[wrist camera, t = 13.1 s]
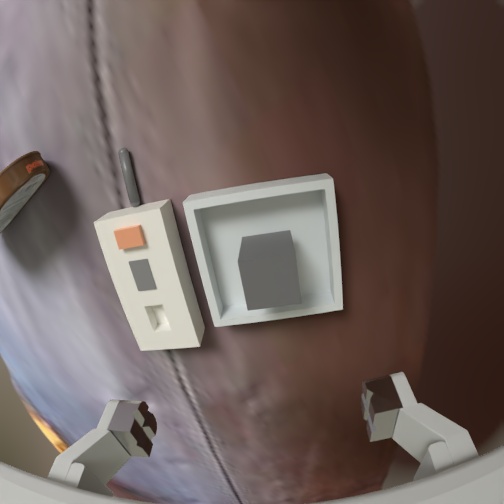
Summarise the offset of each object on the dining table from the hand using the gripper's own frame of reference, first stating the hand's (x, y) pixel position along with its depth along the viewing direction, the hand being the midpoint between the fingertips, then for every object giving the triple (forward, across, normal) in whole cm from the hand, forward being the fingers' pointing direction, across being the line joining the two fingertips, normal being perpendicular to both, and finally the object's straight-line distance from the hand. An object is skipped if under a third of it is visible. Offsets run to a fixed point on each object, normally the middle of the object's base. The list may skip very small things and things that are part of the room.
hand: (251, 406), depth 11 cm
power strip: (+22, +11, +1) cm, 25 cm away
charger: (+22, -1, +3) cm, 22 cm away
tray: (+22, 0, +3) cm, 22 cm away
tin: (+23, +26, -8) cm, 36 cm away
